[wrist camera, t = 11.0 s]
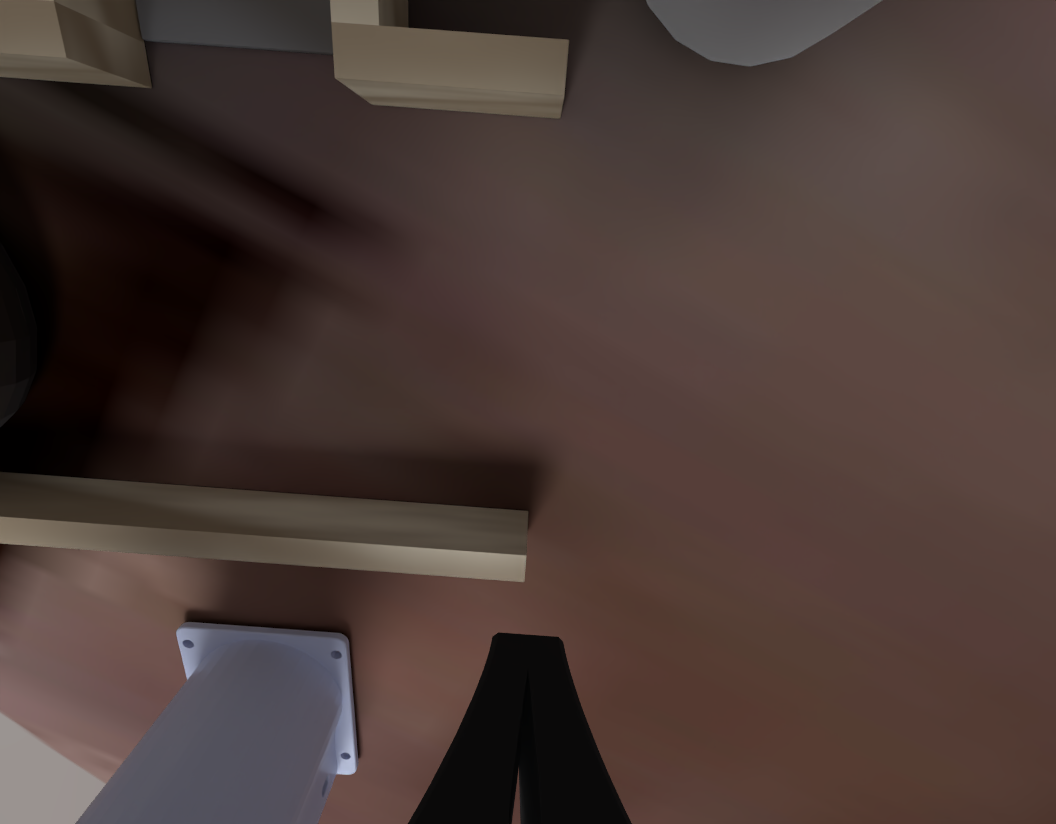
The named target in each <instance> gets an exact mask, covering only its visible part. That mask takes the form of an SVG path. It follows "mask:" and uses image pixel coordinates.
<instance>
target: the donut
mask: <svg viewBox="0 0 1056 824" xmlns="http://www.w3.org/2000/svg"><path fill="white" fill-rule="evenodd" d="M36 371H37V324H36V321H35V317H34V314H33V310H32V307H31V303H30V300H29V296H28V293H27V289H26V286H25V284H24V283H23V281H22V279H21V277H20V275H19V274H18V272H17V270H16V268H15V267H14V265H13V263H12V261H11V259H10V258H9V256H8V254H7V252H6V251H5V249H4V247H3V245H2V244H1V243H0V427H1V426H2V425H3V424H4V423H5V422H6V421H7V420H8V419H9V418H10V417H11V416H12V415H13V414H14V413H15V412H16V411H17V410H18V409H19V408H20V407H21V405H22V404H23V403H24V402H25V399H26V397H27V394H28V391H29V389H30V386H31V384H32V381H33V379H34V376H35V373H36Z"/></svg>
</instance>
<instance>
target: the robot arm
mask: <svg viewBox="0 0 1056 824" xmlns="http://www.w3.org/2000/svg"><path fill="white" fill-rule="evenodd" d="M176 635H177V639H178V643H179V647H180V652H181V656H182V660H183V664H184V668H185V672H186V676H187V681H186V682H185V684H184V685H183V686H182V687H181V689H180V690H179V691H178V693H177V694H176V695H175V696H174V698H173V699H172V700H171V702H170V703H169V704H168V705H167V707H166V708H165V709H164V711H163V712H162V713H161V714H160V716H159V717H158V718H157V720H156V721H155V722H154V723H153V725H152V726H151V727H150V729H149V730H148V731H147V732H146V734H145V735H144V736H143V737H142V739H141V740H140V741H139V743H138V744H137V745H136V746H135V748H134V749H133V750H132V752H131V753H130V754H129V755H128V757H127V758H126V759H125V761H124V762H123V763H122V764H121V766H120V767H119V768H118V770H117V771H116V772H115V773H114V775H113V776H112V777H111V779H110V780H109V781H108V782H107V784H106V785H105V786H104V787H103V789H102V790H101V791H100V793H99V794H98V795H97V796H96V798H95V799H94V800H93V802H92V803H91V804H90V805H89V807H88V808H87V809H86V811H85V812H84V813H83V814H82V816H81V817H80V818H79V820H78V821H77V822H76V823H75V824H318V822H319V819H320V816H321V814H322V811H323V808H324V806H325V803H326V800H327V797H328V795H329V792H330V789H331V787H332V784H333V781H334V779H335V776H336V774H345V775H350V774H353V773H355V772H356V770H357V767H358V751H357V738H356V725H355V713H354V700H353V688H352V675H351V663H350V650H349V641H348V638H347V637H346V636H345V635H343V634H341V633H333V632H320V631H306V630H293V629H279V628H266V627H252V626H239V625H225V624H212V623H198V622H185V623H183V624H182V625H181V626H180V627H179V628H178V629H177V631H176ZM337 651H339V652H337ZM518 768H519V786H520V818H521V824H632V823H631V821H630V819H629V817H628V815H627V813H626V811H625V809H624V807H623V805H622V803H621V800H620V798H619V796H618V794H617V792H616V789H615V787H614V785H613V783H612V781H611V778H610V776H609V774H608V772H607V769H606V767H605V765H604V762H603V760H602V758H601V755H600V753H599V751H598V748H597V745H596V743H595V740H594V738H593V735H592V733H591V730H590V728H589V725H588V723H587V720H586V718H585V715H584V712H583V709H582V707H581V704H580V701H579V698H578V695H577V692H576V689H575V686H574V683H573V679H572V676H571V673H570V669H569V666H568V662H567V658H566V654H565V649H564V644H563V641H562V640H561V639H560V638H559V637H551V636H538V635H524V634H511V633H497V634H496V635H494V636H493V637H492V642H491V647H490V651H489V654H488V657H487V661H486V664H485V667H484V670H483V672H482V675H481V678H480V680H479V683H478V686H477V688H476V691H475V693H474V696H473V698H472V700H471V702H470V705H469V707H468V709H467V711H466V714H465V716H464V718H463V720H462V722H461V725H460V727H459V729H458V731H457V733H456V735H455V738H454V740H453V742H452V744H451V745H450V747H449V749H448V751H447V753H446V755H445V757H444V759H443V761H442V763H441V765H440V767H439V769H438V771H437V773H436V774H435V776H434V778H433V780H432V782H431V784H430V786H429V788H428V789H427V791H426V793H425V795H424V797H423V798H422V800H421V802H420V804H419V805H418V807H417V809H416V811H415V812H414V814H413V816H412V817H411V819H410V821H409V823H408V824H512V816H513V808H514V800H515V792H516V784H517V776H518Z"/></svg>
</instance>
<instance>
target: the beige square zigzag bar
mask: <svg viewBox="0 0 1056 824" xmlns="http://www.w3.org/2000/svg"><path fill="white" fill-rule="evenodd" d="M144 40H146V41H151V42H165V43H178V44H191V45H205V46H218V47H231V48H245V49H258V50H272V51H285V52H298V53H312V54H325V55H333V58H334V74H335V78H336V79H337V80H338V81H340V82H341V83H342V84H344V85H345V86H347V87H348V88H349V89H351V90H352V91H354V92H355V93H356V94H358V95H359V96H361V97H362V98H363V99H365V100H366V101H368V102H369V103H370V104H372V105H383V106H396V107H410V108H423V109H436V110H450V111H463V112H477V113H490V114H503V115H517V116H530V117H543V118H557V119H560V117H561V112H562V106H563V100H564V94H565V82H566V70H567V58H568V46H569V40H566V39H552V38H539V37H526V36H512V35H499V34H486V33H472V32H459V31H446V30H432V29H419V28H409V27H408V0H0V77H9V78H22V79H36V80H49V81H62V82H76V83H89V84H102V85H116V86H129V87H142V88H152V84H151V78H150V73H149V67H148V61H147V56H146V50H145V44H144ZM527 531H528V511H522V510H508V509H495V508H481V507H468V506H454V505H441V504H427V503H414V502H400V501H387V500H373V499H360V498H346V497H333V496H319V495H306V494H292V493H279V492H266V491H252V490H239V489H225V488H212V487H198V486H185V485H171V484H158V483H144V482H131V481H117V480H104V479H90V478H77V477H63V476H50V475H36V474H23V473H9V472H0V543H3V544H17V545H30V546H44V547H57V548H71V549H84V550H98V551H111V552H125V553H138V554H152V555H165V556H179V557H192V558H206V559H219V560H233V561H246V562H260V563H273V564H287V565H300V566H314V567H327V568H341V569H354V570H368V571H381V572H395V573H408V574H422V575H435V576H449V577H463V578H476V579H490V580H503V581H517V582H524V578H525V566H526V553H527Z"/></svg>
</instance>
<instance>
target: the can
mask: <svg viewBox="0 0 1056 824" xmlns="http://www.w3.org/2000/svg"><path fill="white" fill-rule="evenodd" d="M646 1H647V4H648V6H649V7H650V9H651V10H652V11H653V12H654V14H655V15H656V16H657V17H658V19H659V20H660V21H661V23H662V24H663V25H664V26H665V28H666V29H667V30H668V31H669V33H670V34H671V35H672V36H673V38H674V39H675V40H676V41H678V42H680V43H681V44H683V45H685V46H686V47H688V48H690V49H691V50H693V51H695V52H697V53H698V54H700V55H702V56H703V57H705V58H707V59H708V60H710V61H716V62H723V63H729V64H736V65H743V66H749V67H750V66H755V65H760V64H764V63H769V62H773V61H778V60H783V59H787V58H792V57H793V56H795V55H797V54H798V53H800V52H802V51H804V50H805V49H807V48H809V47H810V46H812V45H814V44H815V43H817V42H819V41H821V40H822V39H824V38H826V37H827V36H829V35H831V34H832V33H834V32H836V31H837V30H839V29H840V28H842V27H843V26H845V25H846V24H848V23H849V22H851V21H852V20H854V19H855V18H857V17H858V16H860V15H861V14H863V13H864V12H866V11H867V10H869V9H870V8H872V7H873V6H875V5H876V4H878V3H879V2H881V1H882V0H646Z"/></svg>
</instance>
